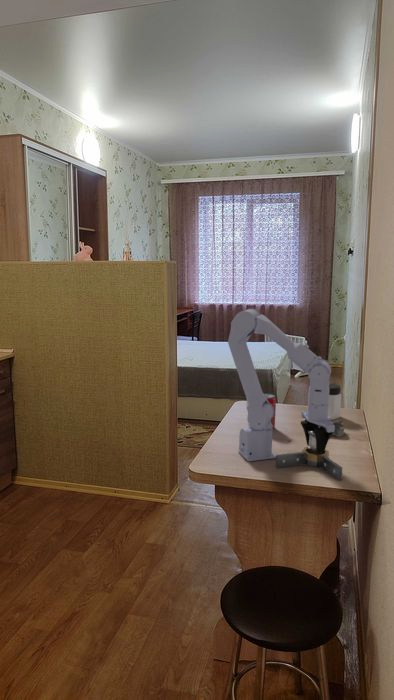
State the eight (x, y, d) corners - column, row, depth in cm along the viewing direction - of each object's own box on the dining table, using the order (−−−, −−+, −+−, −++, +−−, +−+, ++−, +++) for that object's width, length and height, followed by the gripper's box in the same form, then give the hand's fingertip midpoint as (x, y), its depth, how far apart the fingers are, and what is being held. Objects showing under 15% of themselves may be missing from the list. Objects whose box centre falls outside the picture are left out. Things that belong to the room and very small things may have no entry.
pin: (312, 459, 143) (314, 435, 141) (302, 451, 147) (304, 429, 146) (327, 457, 144) (329, 433, 143) (317, 450, 149) (319, 427, 147)
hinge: (298, 486, 130) (299, 473, 130) (270, 462, 145) (271, 451, 145) (351, 478, 135) (352, 466, 135) (318, 456, 150) (319, 445, 150)
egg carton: (343, 431, 175) (343, 420, 174) (344, 438, 167) (345, 426, 167) (311, 428, 177) (312, 417, 176) (311, 435, 170) (312, 423, 169)
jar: (343, 419, 187) (345, 388, 185) (323, 420, 185) (325, 389, 183) (331, 412, 196) (333, 382, 194) (312, 413, 194) (314, 383, 192)
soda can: (276, 431, 172) (277, 397, 170) (257, 431, 173) (258, 397, 171) (273, 425, 179) (275, 393, 177) (256, 425, 179) (257, 392, 177)
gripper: (345, 408, 137) (342, 455, 139) (316, 395, 151) (314, 438, 153) (323, 411, 135) (320, 458, 137) (296, 397, 148) (293, 440, 151)
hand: (315, 448), depth 145 cm, fingers closed on pin, 5 cm apart
